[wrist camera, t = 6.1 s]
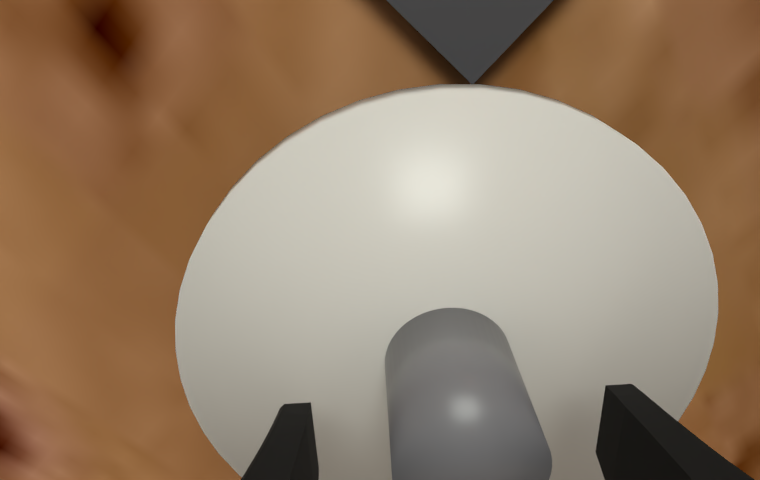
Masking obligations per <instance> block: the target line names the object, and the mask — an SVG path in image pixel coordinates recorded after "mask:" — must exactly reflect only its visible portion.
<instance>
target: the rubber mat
mask: <svg viewBox="0 0 760 480" xmlns="http://www.w3.org/2000/svg"><path fill="white" fill-rule="evenodd" d="M387 1H388V2H389V3H390V4H391V5H392V6H393V7H394V8H395V9H396V10H397V11H398V12H399V13H400V14H401V15H402V16H403V17H404V18H405V19H406V20H407V21H408V22H409V23H410V24H411V25H412V26H413V27H414V28H415V29H416V30H417V31H418V32H419V33H420V34H421V35H422V36H423V37H424V38H425V39H426V40H427V41H428V42H429V43H430V44H431V45H432V46H433V47H434V48H435V49H436V50H437V51H438V52H440V53H441V54H442V55H443V56H444V57H445V58H446V59H447V60H448V61H449V62H450V63H451V64H452V65H453V66H454V67H455V68H456V69H457V70H458V71H459V72H460V73H461V74H462V75H463V76H464V77H465V78H466V79H467V80H468V81H469V82H470V83H471V84H474V83H475V82H476V81H477V80H478V79H479V78H480V77H481V76H482V74H483V73H484V72H485V71H486V70H487V69H488V68H489V67H490V66H491V65H492V64H493V63H494V62H495V61H496V60H497V59H498V58H499V57H500V56H501V55H502V54H503V53H504V51H505V50H506V49H507V48H508V47H509V46H510V45H511V44H512V43H513V42H514V41H515V40H516V39H517V38H518V37H519V36H520V35H521V34H522V33H523V32H524V31H525V29H526V28H527V27H528V26H529V25H530V24H531V23H532V22H533V21H534V20H535V19H536V18H537V17H538V16H539V15H540V14H541V13H542V12H543V11H544V10H545V9H546V8H547V6H548V5H549V4H550V3H551V2H552V1H553V0H387Z"/></svg>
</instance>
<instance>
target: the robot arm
mask: <svg viewBox="0 0 760 480" xmlns="http://www.w3.org/2000/svg"><path fill="white" fill-rule="evenodd" d="M595 452H596V455H597V458H598V461H599V464H600V467H601V470H602V473H603V476H604V479H605V480H754V479H753V478H751V477H750V476H748V475H747V474H746V473H744V472H743V471H741V470H740V469H739V468H737V467H736V466H734V465H733V464H732V463H730V462H729V461H727V460H726V459H725V458H724V457H722V456H721V455H720V454H718V453H717V452H716V451H714V450H713V449H712V448H710V447H709V446H708V445H706V444H705V443H704V442H703V441H701V440H700V439H699V438H698V437H696V436H695V435H694V434H693V433H691V432H690V431H689V430H688V429H686V428H685V427H684V426H683V425H681V424H680V423H679V422H678V421H677V420H675V419H674V418H673V417H672V416H671V415H669V414H668V413H667V412H666V411H664V410H663V409H662V408H661V407H660V406H658V405H657V404H656V403H655V402H654V401H652V400H651V399H650V398H649V397H648V396H646V395H645V394H644V393H643V392H642V391H640V390H639V389H638V388H637V387H635V386H634V385H633V384H620V385H605V392H604V399H603V405H602V412H601V418H600V425H599V432H598V438H597V445H596V451H595ZM241 480H319V465H318V457H317V449H316V440H315V432H314V424H313V416H312V408H311V402H309V403H291V404H284V405H283V406H282V407H281V408H280V409H279V411H278V414H277V416H276V418H275V420H274V422H273V424H272V426H271V428H270V430H269V432H268V434H267V436H266V438H265V439H264V441H263V443H262V445H261V447H260V449H259V450H258V452H257V454H256V455H255V457H254V459H253V460H252V462H251V464H250V465H249V467H248V469H247V470H246V472H245V474H244V475H243V477H242V479H241Z"/></svg>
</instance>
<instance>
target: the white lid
mask: <svg viewBox="0 0 760 480" xmlns="http://www.w3.org/2000/svg"><path fill="white" fill-rule="evenodd" d="M717 318H718V282H717V276H716V271H715V265H714V259H713V254H712V251H711V248H710V245H709V242H708V240H707V237H706V234H705V231H704V229H703V226H702V223H701V221H700V220H699V218H698V216H697V214H696V213H695V211H694V209H693V207H692V206H691V204H690V202H689V200H688V198H687V197H686V195H685V194H684V193H683V191H682V190H681V189H680V188H679V186H678V185H677V184H676V183H675V181H674V180H673V179H672V178H671V177H670V175H669V174H668V173H667V172H666V170H665V169H664V168H663V167H662V166H661V165H659V164H658V163H657V162H656V161H655V160H654V159H653V158H652V157H650V156H649V155H648V154H647V153H646V152H645V151H644V150H643V149H641V148H640V147H639V146H638V145H637V144H635V143H634V142H632V141H631V140H629V139H628V138H626V137H625V136H623V135H622V134H620V133H619V132H617V131H616V130H614V129H613V128H611V127H609V126H608V125H606V124H605V123H603V122H602V121H600V120H598V119H597V118H595V117H594V116H592V115H590V114H588V113H586V112H583V111H581V110H579V109H577V108H574V107H572V106H570V105H568V104H565V103H563V102H561V101H559V100H556V99H552V98H548V97H545V96H541V95H538V94H534V93H531V92H527V91H523V90H520V89H512V88H505V87H498V86H490V85H483V84H437V85H430V86H422V87H415V88H407V89H400V90H396V91H392V92H388V93H384V94H381V95H377V96H373V97H370V98H366V99H362V100H359V101H356V102H354V103H352V104H349V105H347V106H344V107H342V108H340V109H337V110H335V111H333V112H330V113H328V114H325V115H323V116H321V117H319V118H318V119H316V120H314V121H312V122H311V123H309V124H307V125H306V126H304V127H302V128H301V129H299V130H297V131H295V132H294V133H292V134H290V135H289V136H287V137H286V138H285V139H283V140H282V141H281V142H280V143H278V144H277V145H276V146H275V147H273V148H272V149H271V150H269V151H268V152H267V153H266V154H264V155H263V156H262V157H261V158H259V159H258V160H257V161H256V162H255V163H254V164H253V165H252V166H251V167H250V169H249V170H248V171H247V172H246V173H245V174H244V175H243V176H242V177H241V178H240V179H239V180H238V181H237V182H236V183H235V184H234V185H233V187H232V188H231V189H230V191H229V192H228V194H227V195H226V196H225V198H224V199H223V201H222V202H221V204H220V205H219V206H218V208H217V209H216V211H215V212H214V213H213V215H212V217H211V219H210V220H209V222H208V224H207V226H206V227H205V229H204V231H203V233H202V235H201V237H200V239H199V241H198V243H197V245H196V247H195V249H194V251H193V253H192V255H191V257H190V260H189V263H188V266H187V269H186V272H185V275H184V278H183V281H182V285H181V288H180V292H179V299H178V306H177V312H176V319H175V340H176V356H177V361H178V367H179V373H180V378H181V382H182V385H183V388H184V391H185V394H186V396H187V399H188V402H189V405H190V408H191V409H192V411H193V413H194V415H195V417H196V419H197V421H198V423H199V425H200V427H201V429H202V431H203V432H204V434H205V435H206V436H207V438H208V439H209V441H210V442H211V443H212V445H213V446H214V447H215V449H216V450H217V452H218V453H219V454H220V455H221V456H222V458H223V459H224V460H225V461H226V462H227V463H228V464H229V465H230V466H231V467H232V468H233V469H234V470H235V471H236V472H237V473H238V474H239V475H240V476H241V477H243V475H244V474H245V472H246V470H247V469H248V467H249V465H250V464H251V462H252V460H253V459H254V457H255V455H256V454H257V452H258V450H259V449H260V447H261V445H262V443H263V441H264V439H265V438H266V436H267V434H268V432H269V430H270V428H271V426H272V424H273V422H274V420H275V418H276V416H277V414H278V411H279V409H280V408H281V407H282V406H283V405H284V404H291V403H309V402H311V408H312V416H313V424H314V432H315V440H316V449H317V457H318V465H319V480H605V479H604V476H603V473H602V470H601V467H600V464H599V461H598V458H597V455H596V452H595V451H596V445H597V438H598V432H599V425H600V418H601V412H602V405H603V399H604V392H605V385H620V384H633V385H634V386H635V387H637V388H638V389H639V390H640V391H642V392H643V393H644V394H645V395H646V396H648V397H649V398H650V399H651V400H652V401H654V402H655V403H656V404H657V405H658V406H660V407H661V408H662V409H663V410H664V411H666V412H667V413H668V414H669V415H671V416H672V417H673V418H674V419H675V420H677V421H679V419H680V417H681V416H682V414H683V413H684V411H685V410H686V408H687V406H688V405H689V403H690V402H691V400H692V398H693V397H694V394H695V392H696V390H697V388H698V386H699V384H700V381H701V379H702V377H703V375H704V373H705V370H706V367H707V364H708V360H709V357H710V354H711V351H712V347H713V344H714V338H715V331H716V325H717Z"/></svg>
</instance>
